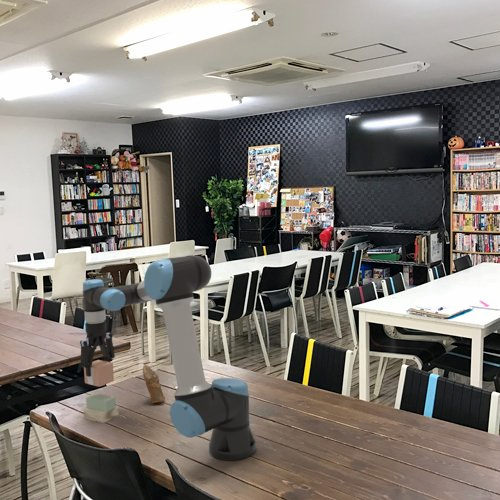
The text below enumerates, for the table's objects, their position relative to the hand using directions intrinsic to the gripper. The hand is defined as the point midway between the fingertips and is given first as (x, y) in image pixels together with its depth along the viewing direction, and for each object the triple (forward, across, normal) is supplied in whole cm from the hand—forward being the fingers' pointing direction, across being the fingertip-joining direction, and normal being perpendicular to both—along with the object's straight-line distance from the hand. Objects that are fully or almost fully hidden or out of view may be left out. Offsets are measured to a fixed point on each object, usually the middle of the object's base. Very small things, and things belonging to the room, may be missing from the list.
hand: (99, 380), depth 216 cm
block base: (+14, 0, 0) cm, 14 cm away
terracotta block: (0, 0, 0) cm, 0 cm away
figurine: (+14, -21, +8) cm, 26 cm away
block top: (+10, 0, 0) cm, 10 cm away
